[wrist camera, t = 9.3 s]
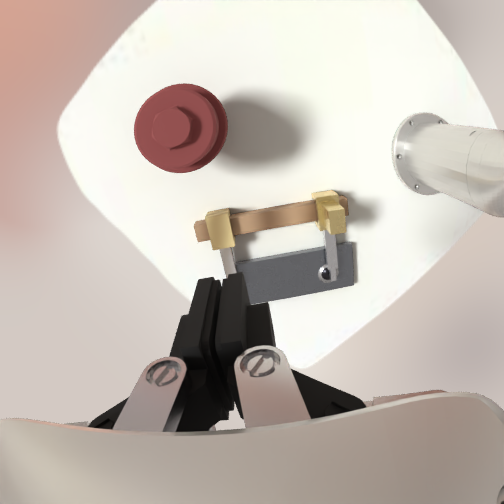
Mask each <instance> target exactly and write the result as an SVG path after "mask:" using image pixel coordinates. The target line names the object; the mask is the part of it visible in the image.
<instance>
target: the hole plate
mask: <svg viewBox="0 0 504 504" xmlns="http://www.w3.org/2000/svg"><path fill="white" fill-rule="evenodd" d="M336 248H337V261H338V268H336V281H331V280H330V276H329V270H328V269H327V267H326V256H325V246H323V247H318V248H312V249H307V250H301V251H296V252H290V253H284V254H279V255H273V256H268V257H262V258H256V259H251V260H245V261H240V262H235V266H236V270H237V273H239V272H243V274H244V278H245V282H246V286H247V291H248V295H249V300H250V304H256V303H262V302H268V301H274V300H280V299H285V298H291V297H296V296H301V295H307V294H312V293H317V292H322V291H327V290H332V289H337V288H342V287H347V286H352V285H354V274H353V252H352V243H351V242H345V243H340V244H336ZM224 270H225V269H224ZM225 274H226V273H225ZM226 278H227V277H226Z"/></svg>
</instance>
